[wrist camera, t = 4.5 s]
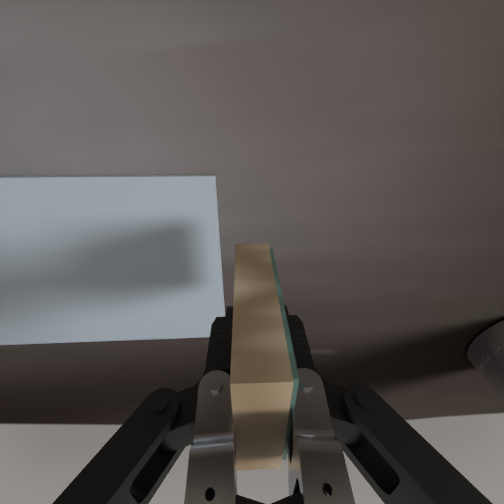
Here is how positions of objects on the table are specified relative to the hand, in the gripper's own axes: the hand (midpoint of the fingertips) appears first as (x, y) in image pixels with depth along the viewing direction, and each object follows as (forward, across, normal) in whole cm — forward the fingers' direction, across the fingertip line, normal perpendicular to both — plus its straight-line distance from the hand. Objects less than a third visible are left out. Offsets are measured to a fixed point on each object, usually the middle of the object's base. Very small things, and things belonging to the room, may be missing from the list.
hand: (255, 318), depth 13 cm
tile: (+3, 0, 0) cm, 3 cm away
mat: (+8, +14, +2) cm, 16 cm away
